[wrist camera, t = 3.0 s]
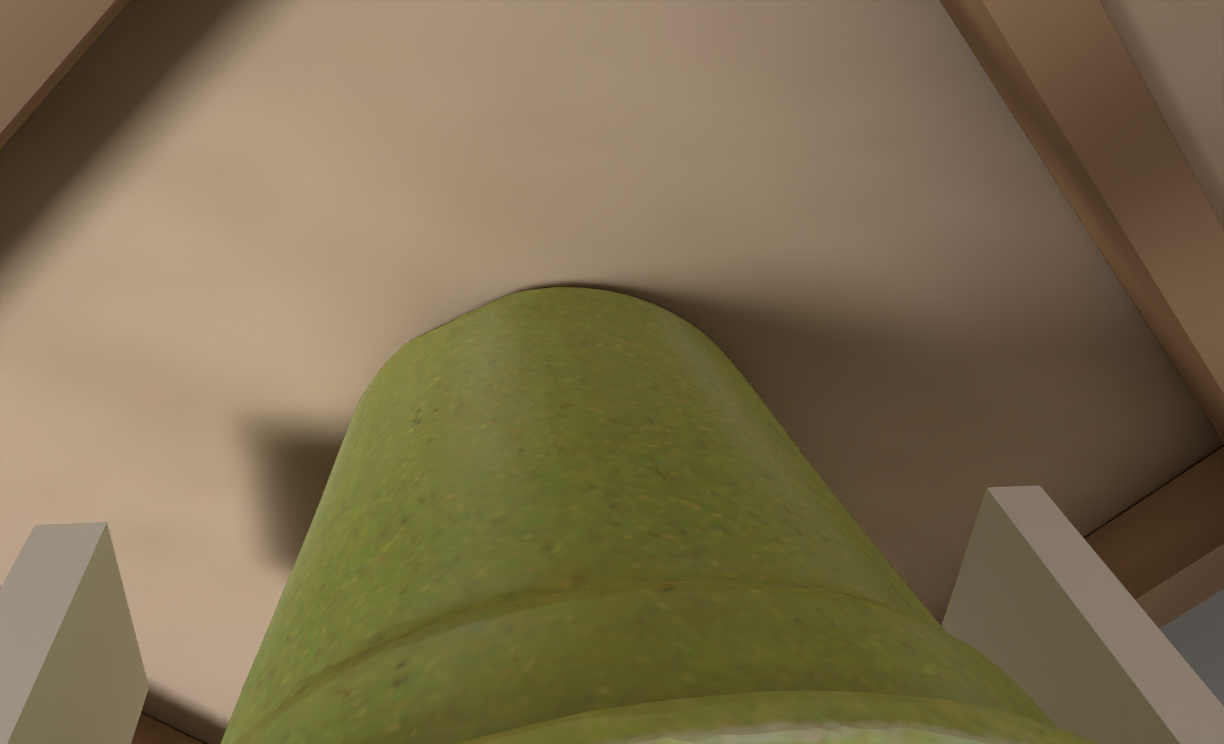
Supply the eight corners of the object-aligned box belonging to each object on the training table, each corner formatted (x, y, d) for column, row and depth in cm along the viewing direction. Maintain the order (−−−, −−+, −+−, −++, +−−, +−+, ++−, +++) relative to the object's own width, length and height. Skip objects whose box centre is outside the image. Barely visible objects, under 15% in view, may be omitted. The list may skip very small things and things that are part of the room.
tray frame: (-426, 501, 13) (-523, 582, 11) (606, -762, 8) (636, -858, 7) (533, 942, 21) (538, 1016, 20) (1299, 442, 17) (1369, 497, 15)
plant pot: (724, 708, 18) (912, 1338, 11) (185, 648, 16) (-44, 1427, 8) (964, 262, 14) (1537, 807, 7) (277, 76, 11) (-29, 638, 4)
